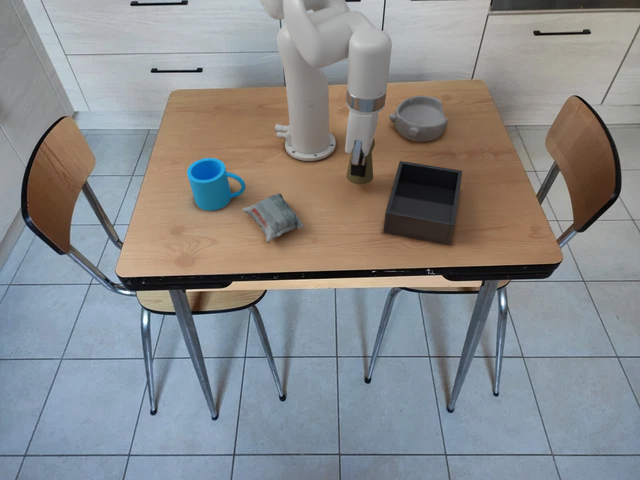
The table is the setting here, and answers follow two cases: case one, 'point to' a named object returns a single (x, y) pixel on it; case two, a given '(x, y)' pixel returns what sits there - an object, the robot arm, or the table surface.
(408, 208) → the open box
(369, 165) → the olive pawn
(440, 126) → the dish
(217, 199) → the mug
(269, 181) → the table surface
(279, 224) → the packaged food
